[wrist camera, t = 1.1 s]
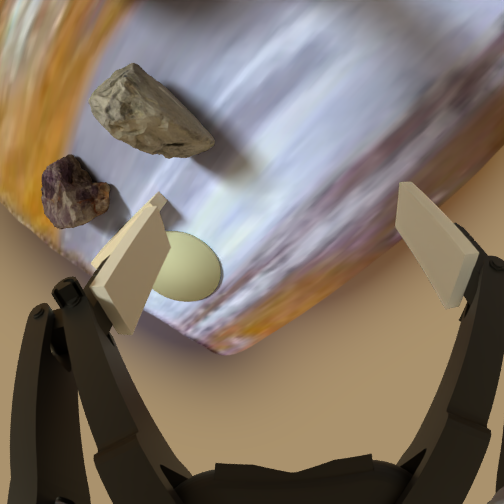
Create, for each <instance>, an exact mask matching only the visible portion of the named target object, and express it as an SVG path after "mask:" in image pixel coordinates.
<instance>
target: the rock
mask: <svg viewBox="0 0 504 504" xmlns="http://www.w3.org/2000/svg"><path fill="white" fill-rule="evenodd" d="M41 190H42V203H43V207H44V214H45V215H46V216H47V217H48V218H49V219H50V221H51V222H52V223H53V225H54V227H57V228H59V229H64V228H74V227H77V226H79V225H84V224H86V223H88V222H89V221H91V220H92V219H94V218H95V217H97V216H98V215H102V214H104V213H105V212H107V210H108V208H109V203H110V200H109V191H110V186H109V185H108V184H107V183H106V182H105V183H103V182H99V183H97V182H95V183H92V179H91V177H90V176H89V174H88V172H87V171H85V170H82V169H81V166H80V163H79V162H78V161H77V160H76V159H75V157H74V155H67V156H66V157H63V158H61V159H60V160H57V161H56V162H54V163H52V164H50V165H49V166H47V169H46V170H45V171H44V172H43V174H42V188H41Z"/></svg>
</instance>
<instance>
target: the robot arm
mask: <svg viewBox="0 0 504 504" xmlns="http://www.w3.org/2000/svg"><path fill="white" fill-rule="evenodd" d="M395 227H396V229H397V230H398V232H399V233H400V235H401V236H402V238H403V239H404V241H405V242H406V244H407V245H408V247H409V248H410V250H411V251H412V253H413V255H414V256H415V258H416V259H417V261H418V262H419V264H420V265H421V267H422V269H423V271H424V272H425V274H426V276H427V277H428V279H429V281H430V283H431V284H432V286H433V288H434V290H435V291H436V293H437V295H438V297H439V299H440V300H441V302H442V304H443V306H444V308H445V309H449V308H453V307H458V306H459V305H460V303H461V300H462V298H463V296H464V297H465V298H466V300H467V304H466V306H465V308H464V311H463V313H462V315H461V317H460V319H459V321H461V324H460V328H459V331H458V334H457V338H456V341H455V344H454V347H453V350H452V353H451V356H450V359H449V362H448V365H447V367H446V370H445V373H444V375H443V378H442V381H441V383H440V385H439V388H438V391H437V393H436V395H435V397H434V400H433V402H432V404H431V406H430V408H429V411H428V413H427V415H426V417H425V419H424V421H423V423H422V425H421V427H420V429H419V431H418V433H417V435H416V437H415V438H414V440H413V442H412V444H411V445H410V446H409V448H408V449H407V450H406V452H405V453H404V454H403V455H402V457H401V459H400V460H399V461H398V463H397V464H396V465H395V464H392V463H388V462H384V461H378V460H372V454H368V455H362V456H357V457H351V458H344V459H337V460H333V461H330V462H327V463H324V464H321V465H319V466H315V467H313V468H309V469H306V470H303V471H299V472H295V473H290V472H284V471H280V470H274V469H270V468H264V467H261V466H256V465H243V464H222V463H216V464H215V470H210V471H206V472H202V473H200V474H197V475H194V476H192V475H191V473H190V472H189V471H188V470H187V469H186V467H184V465H183V464H182V463H181V462H180V461H179V460H178V459H177V458H176V456H175V455H174V453H173V452H172V450H171V448H170V447H169V445H168V444H167V442H166V441H165V439H164V437H163V436H162V434H161V432H160V431H159V429H158V427H157V426H156V424H155V422H154V420H153V419H152V417H151V415H150V413H149V411H148V410H147V408H146V406H145V404H144V402H143V400H142V398H141V397H140V395H139V393H138V391H137V389H136V387H135V385H134V383H133V381H132V379H131V377H130V374H129V372H128V370H127V368H126V366H125V364H124V362H123V360H122V357H121V355H120V353H119V351H118V348H117V346H116V343H115V341H114V338H113V336H112V335H111V334H110V332H109V331H110V329H111V327H112V325H113V327H114V328H115V330H116V331H117V333H118V334H127V335H132V334H133V332H134V330H135V327H136V325H137V323H138V320H139V318H140V315H141V313H142V311H143V308H144V306H145V303H146V301H147V299H148V297H149V294H150V292H151V290H152V287H153V285H154V283H155V281H156V278H157V276H158V274H159V272H160V270H161V268H162V265H163V263H164V261H165V259H166V257H167V255H168V253H169V250H170V248H171V246H170V243H169V240H168V237H167V234H166V231H165V228H164V225H163V222H162V219H161V215H160V212H159V209H158V206H153V207H147V208H145V209H144V210H143V211H142V213H141V214H140V215H139V217H138V218H137V219H136V221H135V222H134V223H133V225H132V226H131V227H130V229H129V230H128V231H127V233H126V234H125V235H124V237H123V238H122V239H121V241H120V242H119V244H118V245H117V246H116V248H115V249H114V251H113V252H112V254H111V255H109V256H108V257H107V258H106V259H104V260H103V261H102V262H101V264H100V265H99V267H98V268H97V270H96V271H95V272H94V274H93V276H92V277H91V278H90V280H89V281H88V283H87V285H86V286H85V288H84V289H82V287H81V286H80V284H79V282H78V280H77V279H76V277H68V278H65V279H63V280H62V281H60V282H59V283H58V284H57V285H56V286H55V287H54V289H53V290H52V295H53V297H54V299H55V300H56V302H57V303H58V305H59V306H60V309H57V310H53V311H52V309H51V308H50V306H49V305H48V304H47V303H42V304H40V305H37V306H36V307H35V308H33V310H32V311H31V312H30V314H29V317H28V320H27V323H26V328H25V332H24V336H23V340H22V345H21V350H20V354H19V360H18V365H17V371H16V378H15V384H14V393H13V401H12V413H11V429H10V467H11V481H10V487H9V494H8V503H7V504H91V503H90V494H89V487H88V482H87V476H86V471H85V465H84V458H83V451H82V444H81V434H80V423H79V409H78V391H79V395H80V399H81V402H82V405H83V409H84V412H85V415H86V418H87V421H88V424H89V426H90V429H91V432H92V435H93V437H94V440H95V442H96V445H97V448H98V453H96V454H95V455H94V462H95V466H96V469H97V471H98V473H99V475H100V478H101V480H102V482H103V484H104V486H105V488H106V490H107V492H108V494H109V497H110V499H111V500H112V502H113V504H462V503H463V502H464V500H465V498H466V496H467V494H468V492H469V490H470V488H471V486H472V484H473V481H474V479H475V477H476V475H477V473H478V470H479V468H480V465H481V463H482V461H483V458H484V455H485V453H486V450H487V448H488V445H489V442H490V438H491V430H489V429H488V428H487V422H488V419H489V415H490V412H491V409H492V405H493V401H494V397H495V394H496V389H497V385H498V380H499V376H500V371H501V366H502V361H503V355H504V261H503V260H502V259H500V258H498V257H496V256H488V255H487V254H486V253H485V252H484V250H483V249H482V248H481V247H480V246H479V245H478V244H477V242H476V241H474V239H473V238H472V237H471V236H470V235H469V233H468V232H467V231H466V230H465V229H464V228H463V227H461V226H460V225H458V224H457V223H453V222H452V221H451V220H450V219H449V218H448V217H447V216H446V215H445V214H444V213H443V212H442V211H441V210H440V209H439V208H438V207H437V206H436V205H435V204H434V203H433V202H432V201H431V200H430V199H429V198H428V197H427V196H426V195H425V194H424V193H423V192H422V191H421V190H420V189H419V188H418V187H417V186H415V185H414V184H413V183H412V182H399V194H398V205H397V214H396V222H395ZM51 351H52V352H51ZM487 504H504V427H503V437H502V445H501V452H500V459H499V465H498V471H497V481H496V494H495V495H494V497H493V498H492V500H491V501H489V502H488V503H487Z"/></svg>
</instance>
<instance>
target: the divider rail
mask: <svg viewBox="0 0 504 504" xmlns="http://www.w3.org/2000/svg"><path fill="white" fill-rule="evenodd" d="M166 202H167V199H166V198H165V197H164V196H163V195H162V194H161V193H160V192H159V191H158V192H157V193H156V194H155V195H154V196H153V197H152V198H151V199H150V200H149V201H148V202H147V203H146V204H145V205H144V206H143V207H142V208H141V209H140V210H139V211H138V212H137V213H136V214H135V215H134V216H133V217H132V218H131V219H130V220H129V221H128V222H127V223H126V224H125V225H124V226H123V227H122V228H121V229H120V230H119V231H118V232H117V233H116V234H115V235H114V236H113V237H112V238H111V239H110V241H109V242H108V243H107V244H106V245H105V246H104V247H103V248H102V249H101V250H100V252H99V253H98V254H97V256H96V257H95V258H94V260H93V261H92V262H91V264H92V265H93V266H94V267H95V268H96V269H97V268H98V267H99V265H100V264H101V262H102V261H103V260H104V259H106V258H107V257H108V256H109V255H111V254H112V252H113V251H114V249H115V248H116V246H117V245H118V244H119V242H120V241H121V239H122V238H123V237H124V235H125V234H126V233H127V231H128V230H129V229H130V227H131V226H132V225H133V223H134V222H135V221H136V219H137V218H138V217H139V215H140V214H141V213H142V211H143V210H144V209H145V208H147V207H153V206H158V209H159V212H160V210H161V209H162V208H163V206H164V205H165V203H166Z"/></svg>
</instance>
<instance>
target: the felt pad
mask: <svg viewBox="0 0 504 504" xmlns="http://www.w3.org/2000/svg"><path fill="white" fill-rule="evenodd" d="M166 234H167V237H168V240H169V243H170V246H171V248H170V250H169V253H168V255H167V257H166V259H165V261H164V263H163V265H162V268H161V270H160V272H159V274H158V276H157V278H156V281H155V283H154V285H153V287H152V289H154V290H155V291H156V292H158V293H159V294H161V295H163V296H165V297H167V298H170V299H173V300H177V301H184V302H190V301H197V300H200V299H203V298H205V297H207V296H209V295H210V294H211V293H212V292H213V291H214V290H215V289H216V287H217V285H218V283H219V280H220V274H221V269H220V264H219V261H218V259H217V257H216V255H215V254H214V252H213V251H212V250H211V248H210V247H209V246H208V245H207V244H205V243H204V242H203V241H201V240H200V239H198V238H197V237H195V236H193V235H190V234H187V233H184V232H179V231H166Z"/></svg>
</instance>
